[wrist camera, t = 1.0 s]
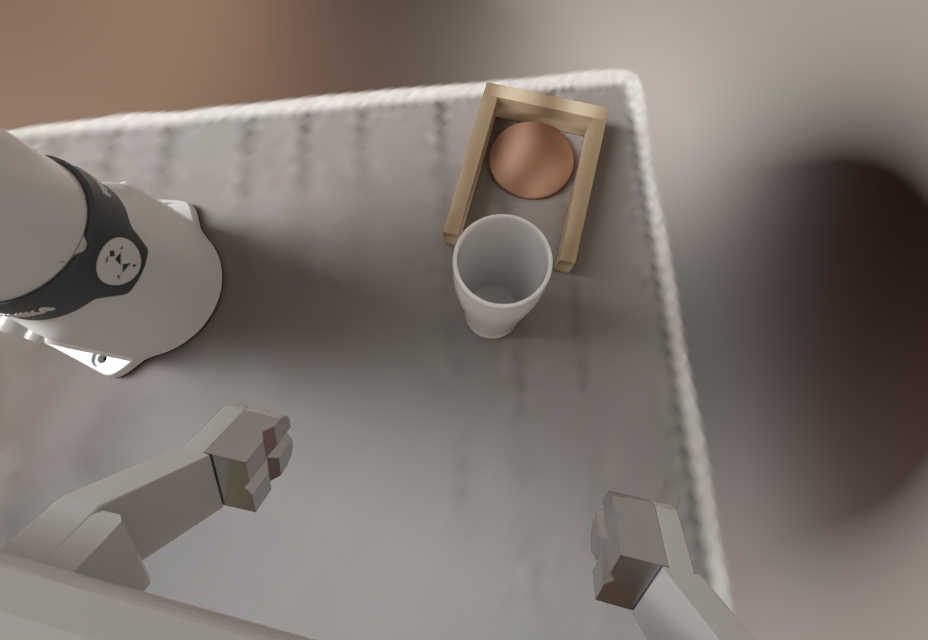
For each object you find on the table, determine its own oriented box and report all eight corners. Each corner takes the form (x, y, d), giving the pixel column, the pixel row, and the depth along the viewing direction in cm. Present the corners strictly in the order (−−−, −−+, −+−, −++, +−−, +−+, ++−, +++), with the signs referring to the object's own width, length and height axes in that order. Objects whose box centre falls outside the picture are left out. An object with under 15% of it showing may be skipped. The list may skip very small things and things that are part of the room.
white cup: (534, 337, 42) (567, 294, 28) (467, 354, 42) (465, 320, 27) (515, 274, 44) (537, 201, 29) (450, 290, 43) (440, 225, 29)
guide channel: (444, 243, 45) (442, 231, 42) (486, 102, 48) (487, 82, 45) (568, 273, 44) (575, 263, 41) (600, 127, 47) (609, 108, 44)
